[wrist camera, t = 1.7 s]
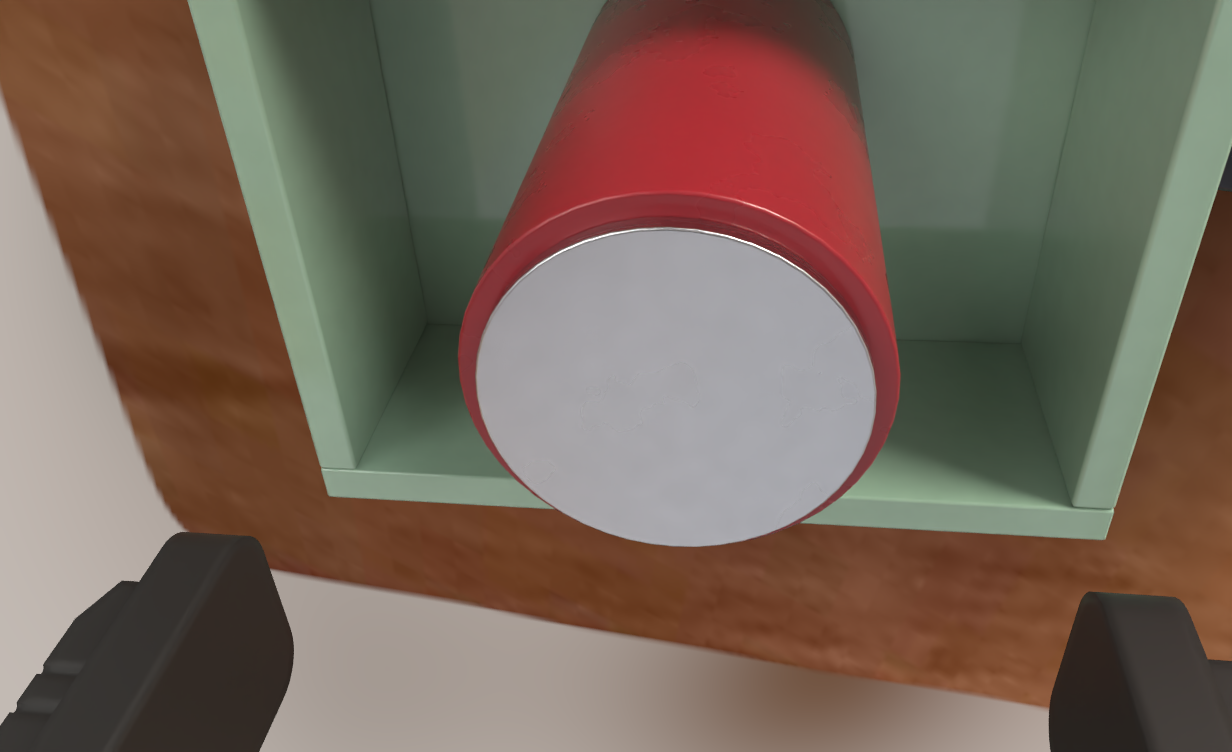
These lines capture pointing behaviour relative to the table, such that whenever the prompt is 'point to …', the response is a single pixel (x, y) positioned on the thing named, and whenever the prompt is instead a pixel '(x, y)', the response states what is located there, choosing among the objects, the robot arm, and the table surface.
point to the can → (691, 281)
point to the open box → (906, 205)
